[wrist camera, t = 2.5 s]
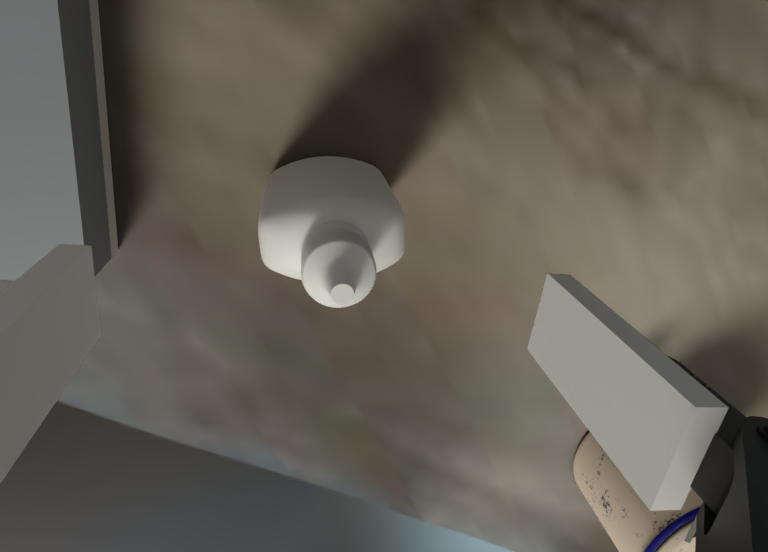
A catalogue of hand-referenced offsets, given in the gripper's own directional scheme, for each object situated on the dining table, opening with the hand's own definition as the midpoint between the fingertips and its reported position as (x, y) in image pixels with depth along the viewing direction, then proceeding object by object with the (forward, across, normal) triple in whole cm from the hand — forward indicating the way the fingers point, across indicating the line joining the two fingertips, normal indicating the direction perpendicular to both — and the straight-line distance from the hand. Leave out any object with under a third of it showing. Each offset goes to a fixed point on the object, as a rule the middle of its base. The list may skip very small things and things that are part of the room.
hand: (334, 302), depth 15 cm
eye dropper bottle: (+12, 0, 0) cm, 12 cm away
